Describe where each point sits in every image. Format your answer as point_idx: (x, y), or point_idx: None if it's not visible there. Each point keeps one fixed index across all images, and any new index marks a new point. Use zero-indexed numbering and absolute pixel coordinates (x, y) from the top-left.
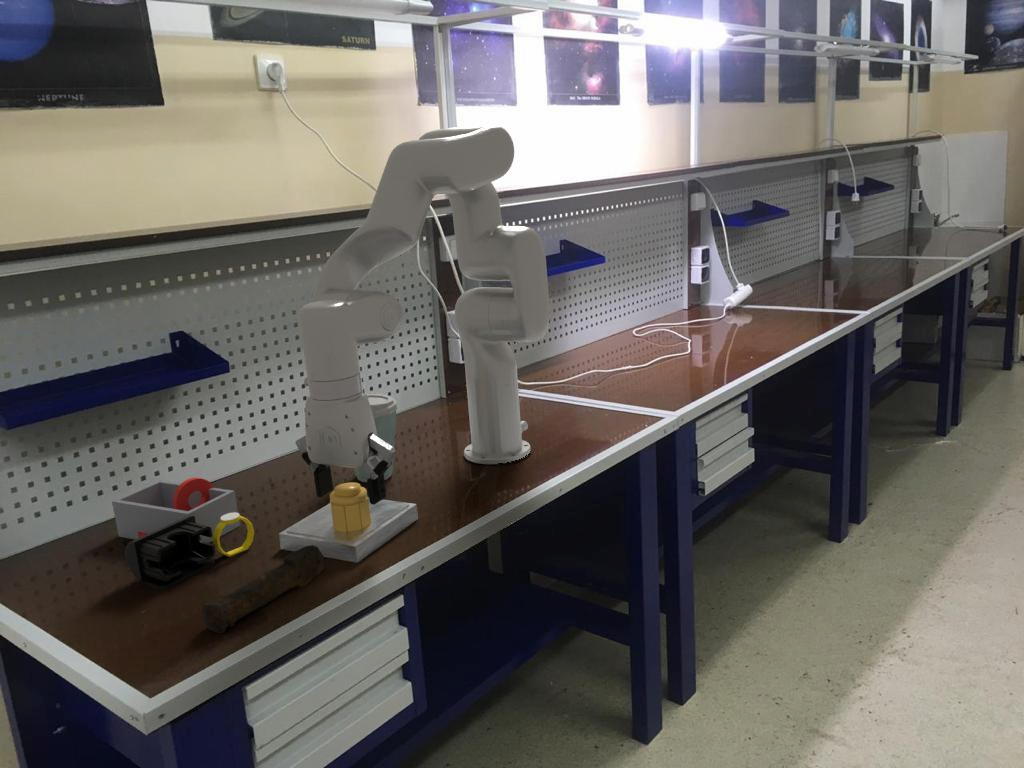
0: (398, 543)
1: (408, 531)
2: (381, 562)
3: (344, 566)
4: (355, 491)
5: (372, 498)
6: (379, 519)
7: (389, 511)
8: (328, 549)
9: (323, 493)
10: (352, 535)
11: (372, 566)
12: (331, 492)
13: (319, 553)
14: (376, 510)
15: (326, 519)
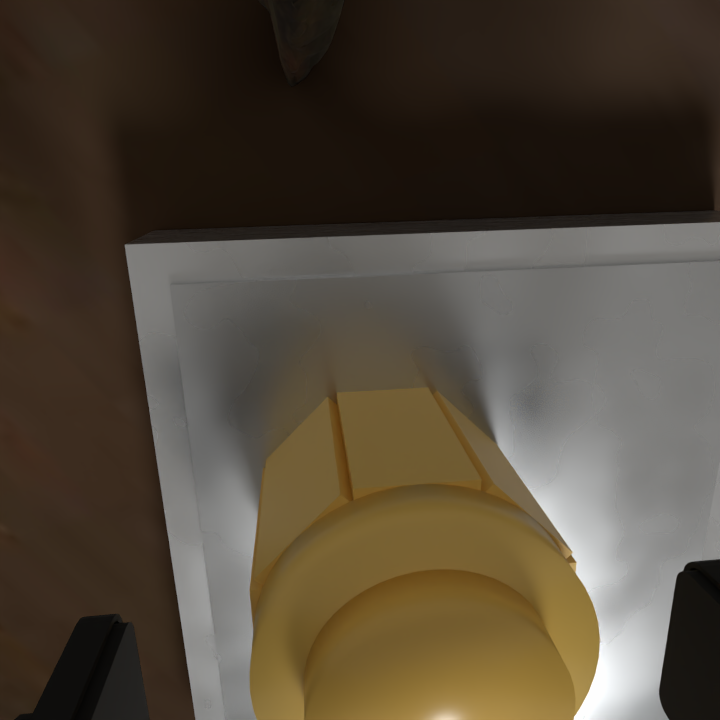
0: (113, 509)
1: (168, 627)
2: (20, 290)
3: (195, 162)
4: (308, 694)
5: (62, 660)
6: None
7: None
8: (369, 229)
9: (685, 605)
10: (258, 366)
11: (30, 226)
12: (597, 624)
13: (271, 10)
14: None
15: (589, 490)
